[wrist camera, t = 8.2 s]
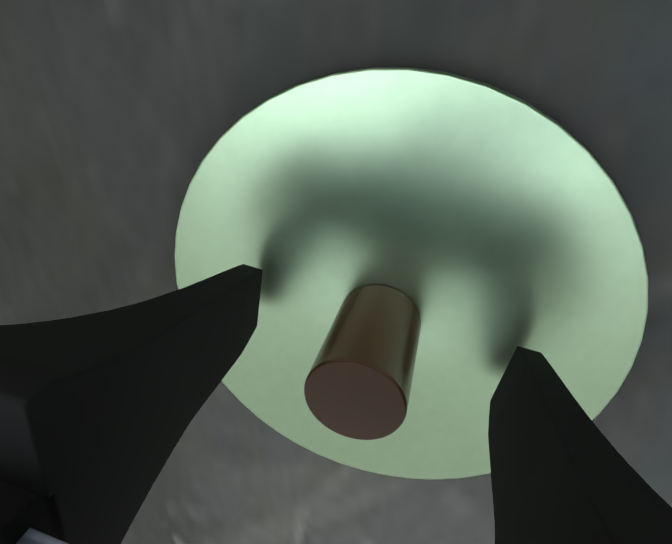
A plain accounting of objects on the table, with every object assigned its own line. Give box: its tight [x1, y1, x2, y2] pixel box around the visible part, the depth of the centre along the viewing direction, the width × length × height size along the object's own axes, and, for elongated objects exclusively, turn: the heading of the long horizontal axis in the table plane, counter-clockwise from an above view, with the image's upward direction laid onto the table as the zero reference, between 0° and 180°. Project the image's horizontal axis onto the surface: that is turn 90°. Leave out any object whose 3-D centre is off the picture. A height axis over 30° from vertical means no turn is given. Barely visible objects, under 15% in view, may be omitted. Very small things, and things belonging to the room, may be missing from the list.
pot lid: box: [174, 67, 649, 480], centre depth 12 cm, size 13×13×4 cm
